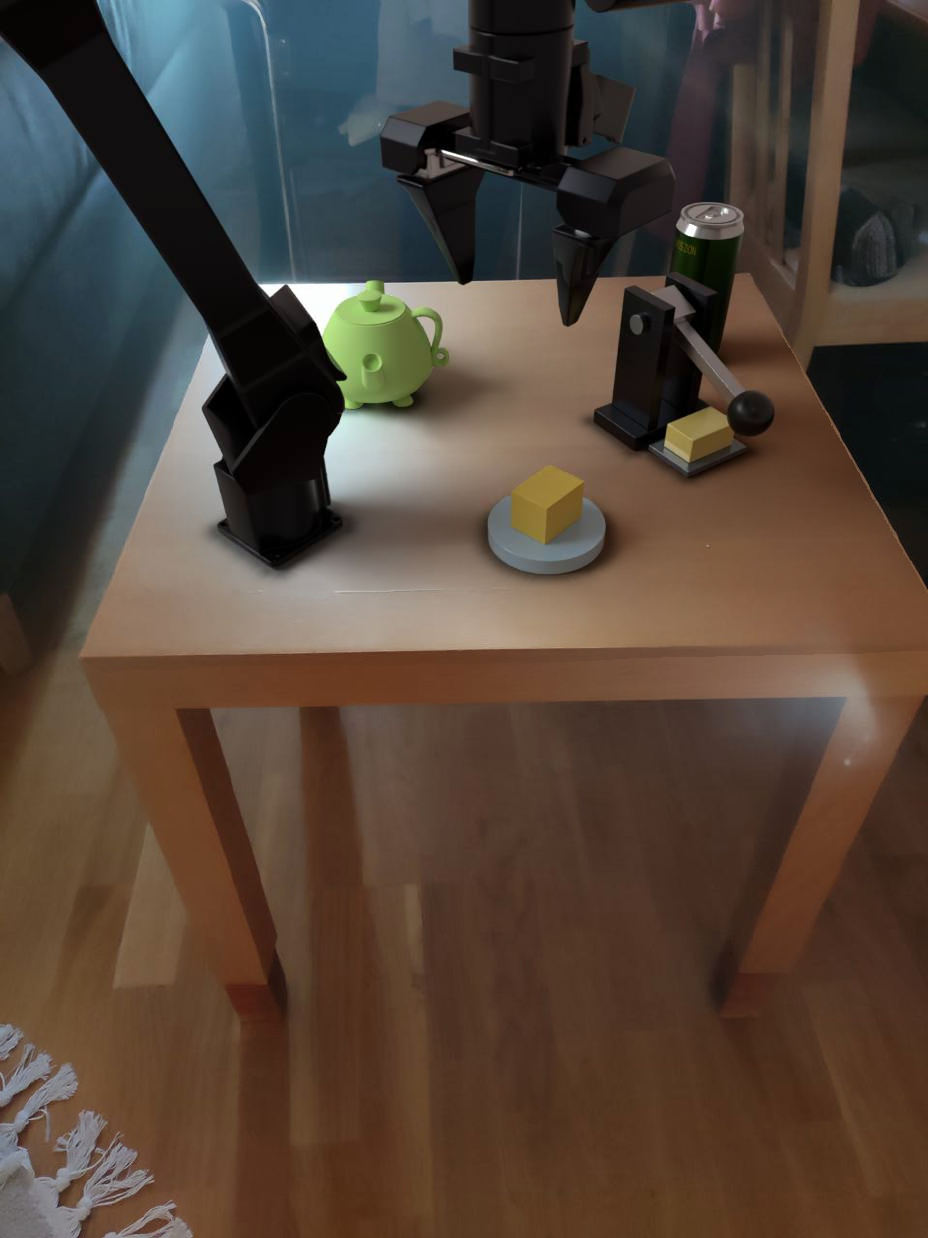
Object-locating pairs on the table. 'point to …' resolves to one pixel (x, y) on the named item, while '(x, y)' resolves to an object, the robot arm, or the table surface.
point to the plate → (559, 553)
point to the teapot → (382, 347)
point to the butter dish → (698, 464)
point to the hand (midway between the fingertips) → (515, 302)
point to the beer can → (709, 254)
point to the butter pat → (546, 504)
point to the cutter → (655, 365)
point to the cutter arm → (718, 372)
